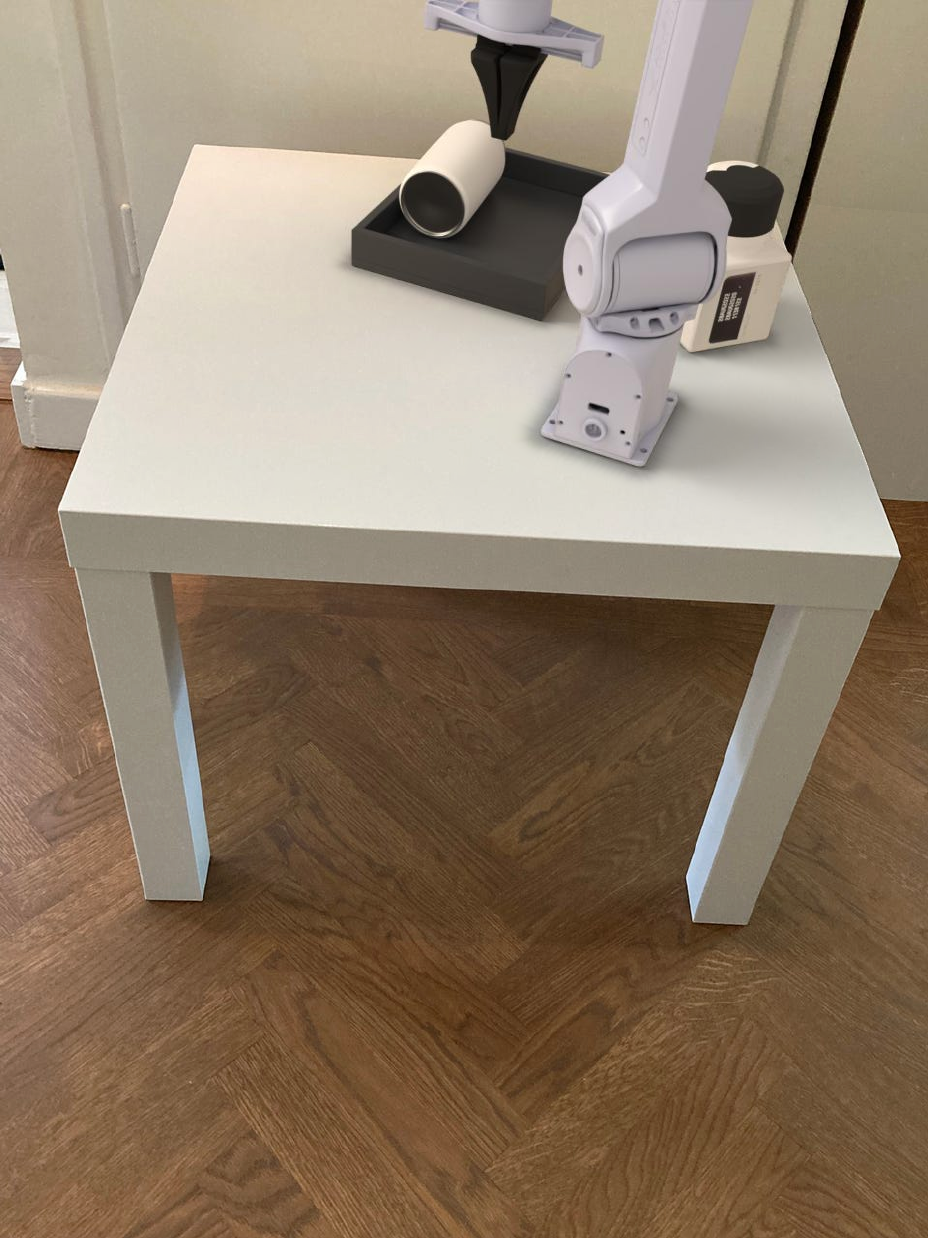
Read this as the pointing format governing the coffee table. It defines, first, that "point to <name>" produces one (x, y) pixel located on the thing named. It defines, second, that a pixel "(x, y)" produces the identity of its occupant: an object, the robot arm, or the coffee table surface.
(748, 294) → the container
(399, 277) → the tray
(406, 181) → the can
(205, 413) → the coffee table surface
